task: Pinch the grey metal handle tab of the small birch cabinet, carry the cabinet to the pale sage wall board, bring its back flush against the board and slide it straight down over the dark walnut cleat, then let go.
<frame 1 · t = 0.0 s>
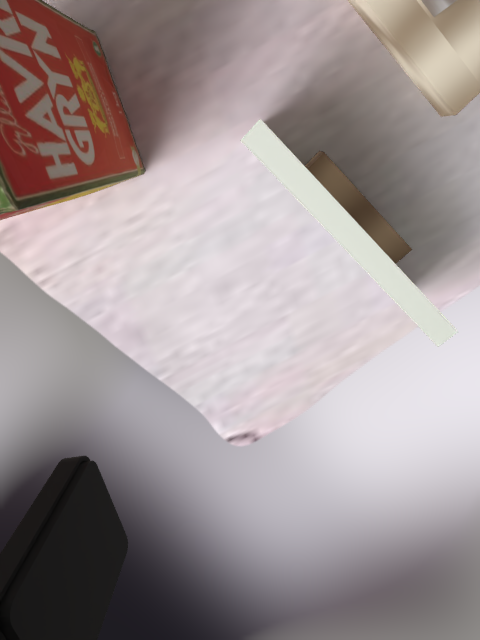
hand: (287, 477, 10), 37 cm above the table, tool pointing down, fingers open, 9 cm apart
wall board: (334, 216, 44), on the table
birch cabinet: (400, 22, 38), on the table
food packaging: (81, 119, 42), on the table
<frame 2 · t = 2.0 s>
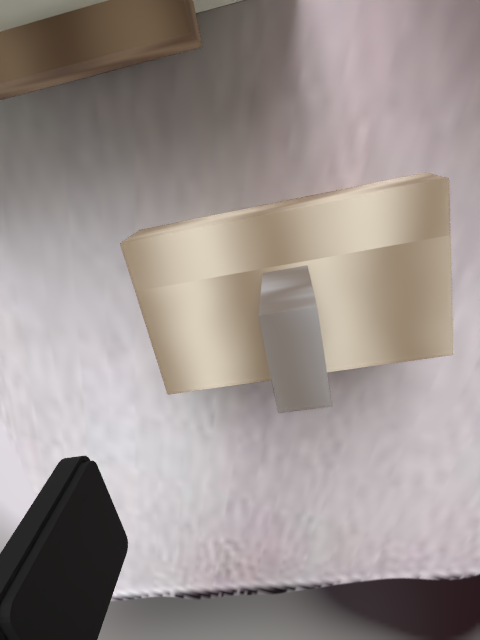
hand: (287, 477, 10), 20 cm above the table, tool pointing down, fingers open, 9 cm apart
wall board: (93, 19, 25), on the table
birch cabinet: (286, 247, 29), on the table
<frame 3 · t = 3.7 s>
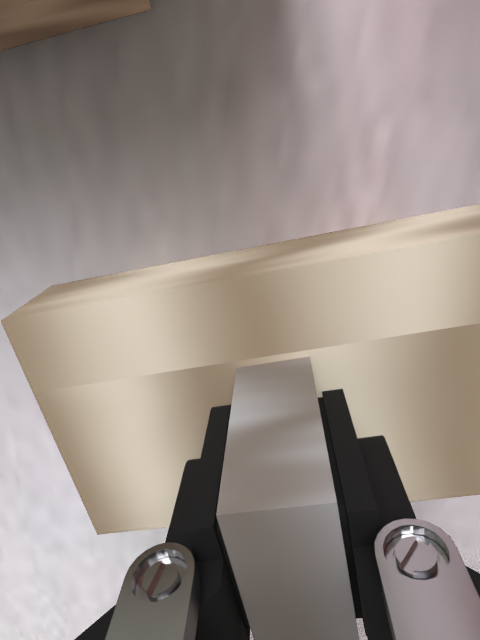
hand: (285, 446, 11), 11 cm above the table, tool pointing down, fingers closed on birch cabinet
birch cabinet: (276, 291, 21), on the table, touching gripper
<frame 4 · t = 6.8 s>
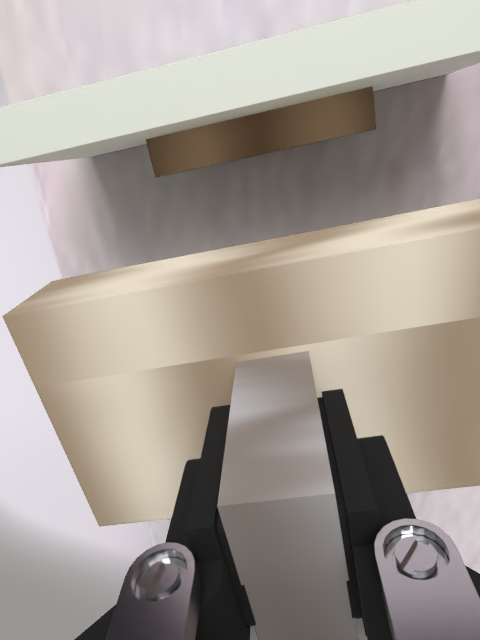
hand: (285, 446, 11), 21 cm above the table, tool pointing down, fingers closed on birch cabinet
wall board: (255, 100, 27), on the table
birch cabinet: (275, 286, 22), point 10 cm above the table, touching gripper
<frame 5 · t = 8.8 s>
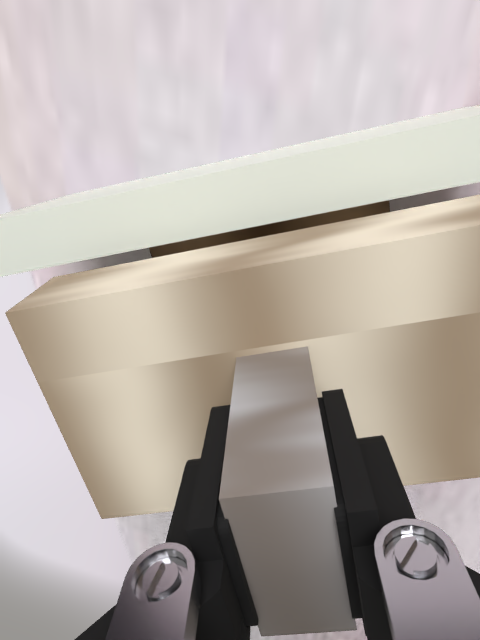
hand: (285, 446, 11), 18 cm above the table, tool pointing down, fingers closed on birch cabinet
wall board: (258, 171, 26), on the table
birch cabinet: (274, 281, 22), point 6 cm above the table, touching gripper
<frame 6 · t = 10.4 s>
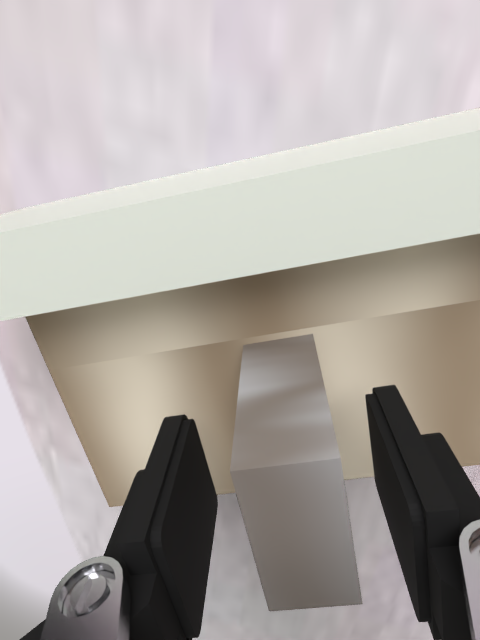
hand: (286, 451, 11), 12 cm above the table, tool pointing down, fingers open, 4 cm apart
wall board: (255, 180, 20), on the table
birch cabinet: (278, 277, 22), on the table, touching wall board
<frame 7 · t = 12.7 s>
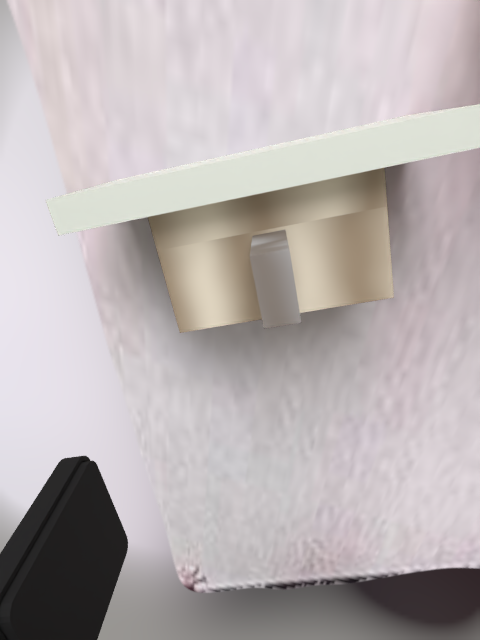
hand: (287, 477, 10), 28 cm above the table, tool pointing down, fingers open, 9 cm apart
wall board: (257, 162, 34), on the table
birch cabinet: (271, 225, 36), on the table
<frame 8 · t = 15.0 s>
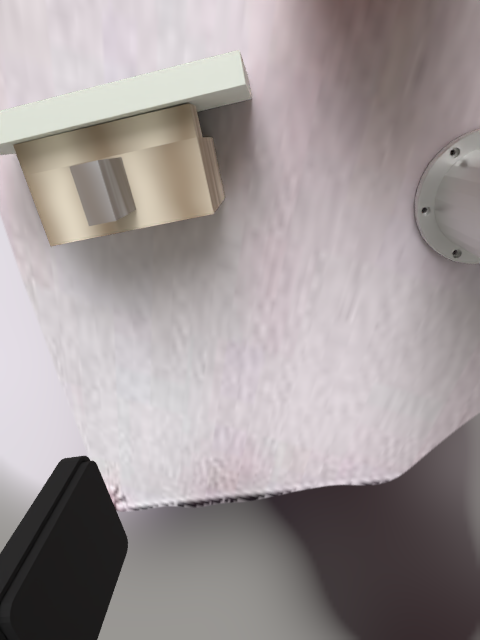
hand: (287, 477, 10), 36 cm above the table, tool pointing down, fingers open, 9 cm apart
wall board: (130, 115, 41), on the table
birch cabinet: (147, 170, 43), on the table
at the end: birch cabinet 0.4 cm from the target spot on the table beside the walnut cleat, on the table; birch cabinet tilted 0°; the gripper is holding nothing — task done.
